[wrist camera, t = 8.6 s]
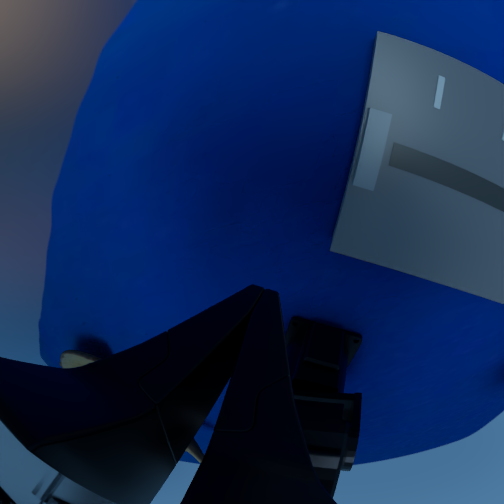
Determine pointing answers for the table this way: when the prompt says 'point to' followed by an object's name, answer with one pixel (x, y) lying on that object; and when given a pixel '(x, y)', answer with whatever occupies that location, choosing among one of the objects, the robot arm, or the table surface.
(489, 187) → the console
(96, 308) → the table surface
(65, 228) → the table surface
